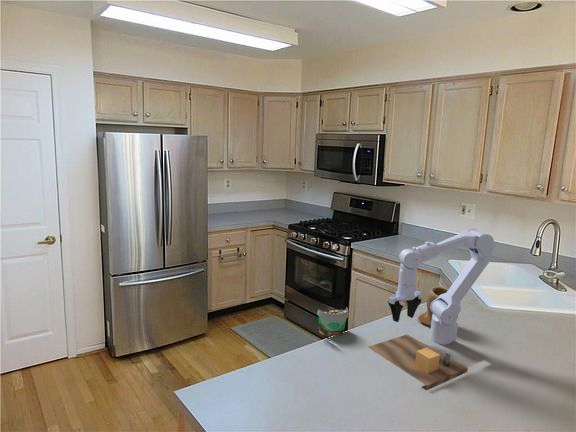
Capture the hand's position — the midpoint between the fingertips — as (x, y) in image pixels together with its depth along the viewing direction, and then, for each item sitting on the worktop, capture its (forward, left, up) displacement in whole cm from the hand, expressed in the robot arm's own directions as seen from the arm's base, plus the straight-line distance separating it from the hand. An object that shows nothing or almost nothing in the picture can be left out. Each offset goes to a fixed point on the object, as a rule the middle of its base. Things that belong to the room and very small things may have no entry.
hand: (403, 318), depth 140 cm
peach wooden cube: (+7, +17, -8) cm, 20 cm away
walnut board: (+5, +11, -9) cm, 15 cm away
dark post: (0, +19, -9) cm, 21 cm away
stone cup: (-27, -5, -10) cm, 29 cm away
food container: (+19, -15, -10) cm, 26 cm away
